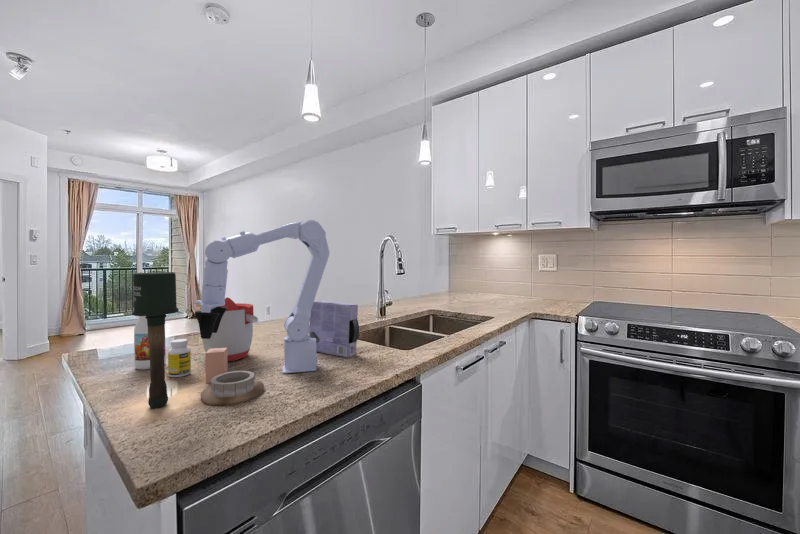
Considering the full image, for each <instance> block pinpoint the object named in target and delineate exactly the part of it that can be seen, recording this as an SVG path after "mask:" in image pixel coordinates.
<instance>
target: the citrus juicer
mask: <svg viewBox="0 0 800 534" xmlns="http://www.w3.org/2000/svg"><path fill="white" fill-rule="evenodd" d="M220 307H227V310H226V311H225V313H224V315H223V317H222V319H221V322H220V325H219V328H218V331H217V333H212V336H211V338H210V339H201V341H202V345H203V349H204V351H205V353H206V352H207V351H208V350H209V349H214V348H227V361H228V362H236V361H237V360H240V359H244V358H246V357H247V356H248V355H249V352H250V350H251V345H252V342H253V336H254V335H253V333H254V328H253V327H254V324H256V323H258V322H259V319H258V317H257V315H254V304H251V303H238V302H237V303H235V301H234V300H232V299H231V298H230V297H225V305H224V306H220ZM199 311H201V308H200V310H199ZM235 360H236V361H235Z"/></svg>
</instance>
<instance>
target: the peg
mask: <svg viewBox="0 0 800 534" xmlns="http://www.w3.org/2000/svg"><path fill="white" fill-rule="evenodd" d="M204 356H205V357H204V358H205V384H208V383H209V382H210V381H211V379H212V378H213V377H215V376H217V375H219V374H222V373H227V372H229V370H228V363H229V361H227V348H214V349H209V350H208V351H207V352H205V353H204Z"/></svg>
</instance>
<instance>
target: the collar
mask: <svg viewBox="0 0 800 534" xmlns="http://www.w3.org/2000/svg"><path fill="white" fill-rule="evenodd" d="M255 377H256V376H255V373H254V372H252V371H249V370H233V371H228V372H227V373H222V374H219V375H217V376H215V377H213V378H212V379H211V381H210V386H208V387H206V388H205V389H203V390H202V391H201V393H200V401H201V402H202V403H203V404H205V405H208V406H230V405H236V404H237V405H238V404H242V403H244V402H245V403H246V402H248V401H250V400H253V399H255V398H257V397H259V396H261V395H262V394H263V393H264V391H265V384H264V383H263V382H262V381H260V380H257V379H256V378H255Z"/></svg>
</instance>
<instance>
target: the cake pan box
mask: <svg viewBox="0 0 800 534" xmlns="http://www.w3.org/2000/svg"><path fill="white" fill-rule="evenodd" d="M358 308H359V307H358V304H355V303H354V304H353V303H347V302H346V303H344V302H337V301H329V300H328V301H327V300H319V299H316V300H315V299H314V302H313V305H312V309H311V318H310V321H309V327H310V331H309V334H308V335H309V338H316V353H317V352H318V353H322V354H325V355H326V354H327V355H329V356H330V355H331V356H336V357H337V356H339V357H343V358H347V359H350V358H352V357H355V356H357V341H358V339H359V336H360V325H359V320H358V312H359V311H358Z"/></svg>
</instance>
